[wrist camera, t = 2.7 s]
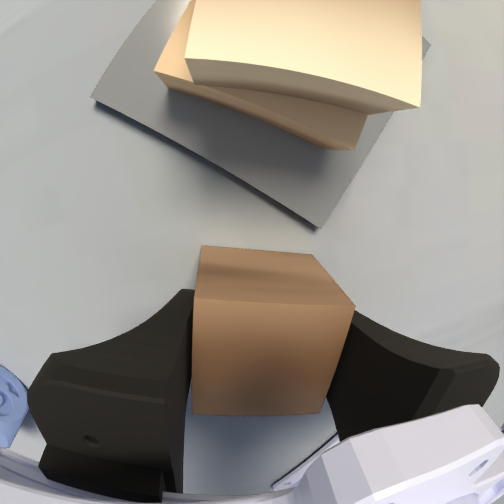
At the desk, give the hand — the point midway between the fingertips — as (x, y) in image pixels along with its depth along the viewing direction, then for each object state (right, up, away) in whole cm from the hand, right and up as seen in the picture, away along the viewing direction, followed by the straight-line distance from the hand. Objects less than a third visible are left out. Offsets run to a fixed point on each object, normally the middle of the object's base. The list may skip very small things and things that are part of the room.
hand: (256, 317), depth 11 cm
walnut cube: (0, 0, +1) cm, 1 cm away
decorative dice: (-16, -6, +2) cm, 17 cm away
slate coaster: (+1, +10, -2) cm, 10 cm away
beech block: (+1, +9, -5) cm, 10 cm away
